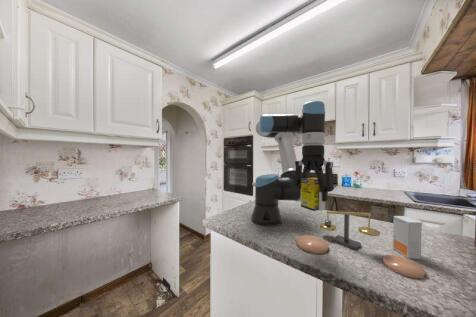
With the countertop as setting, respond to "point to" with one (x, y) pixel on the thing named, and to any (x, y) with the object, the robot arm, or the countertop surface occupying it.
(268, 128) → the robot arm
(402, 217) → the skincare box
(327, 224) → the balance
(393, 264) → the glossy peach dome
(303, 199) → the supplement box
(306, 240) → the peach round dome
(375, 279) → the countertop surface
